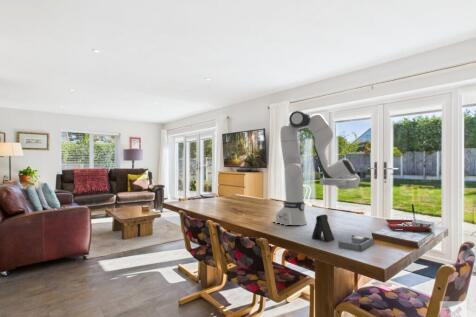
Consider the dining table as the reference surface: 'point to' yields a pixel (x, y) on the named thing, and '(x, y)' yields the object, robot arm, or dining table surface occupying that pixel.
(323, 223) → the black a-shaped stand
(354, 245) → the tray
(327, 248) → the dining table surface
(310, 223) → the dining table surface
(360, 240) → the grey cube
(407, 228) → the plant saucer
